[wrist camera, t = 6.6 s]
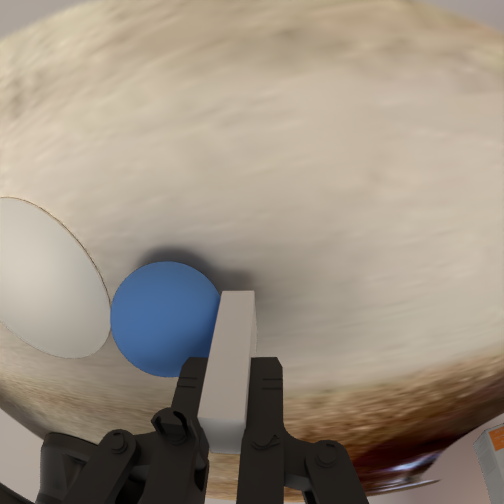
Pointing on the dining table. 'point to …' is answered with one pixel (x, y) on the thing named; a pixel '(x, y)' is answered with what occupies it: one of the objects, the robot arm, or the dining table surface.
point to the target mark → (49, 284)
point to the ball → (164, 317)
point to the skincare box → (492, 461)
